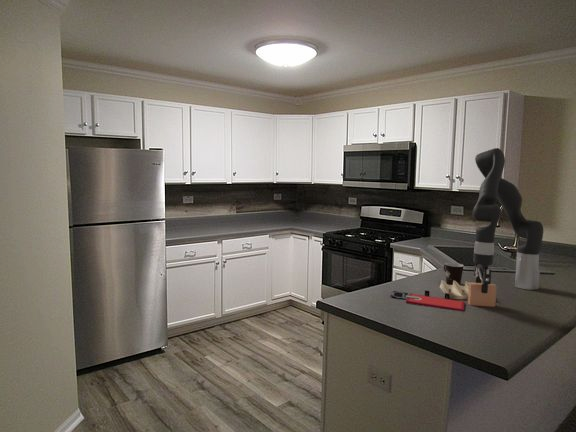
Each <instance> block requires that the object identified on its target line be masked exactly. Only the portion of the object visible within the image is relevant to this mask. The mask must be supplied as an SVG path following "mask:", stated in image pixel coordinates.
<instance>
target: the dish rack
mask: <svg viewBox="0 0 576 432" xmlns="http://www.w3.org/2000/svg"><path fill="white" fill-rule="evenodd" d="M439 289H440V290H441V291H442V293H444V295H445V293H448V294H450V296H449V299H451V300H467V301H468V292H469V281H468V280H467V281H466V280H465V281H464V285H461V284H460V285H459V284H458V283H457V282H456V281H453V285H448V284H446V280H443V279H441V281H440V284H439Z"/></svg>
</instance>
